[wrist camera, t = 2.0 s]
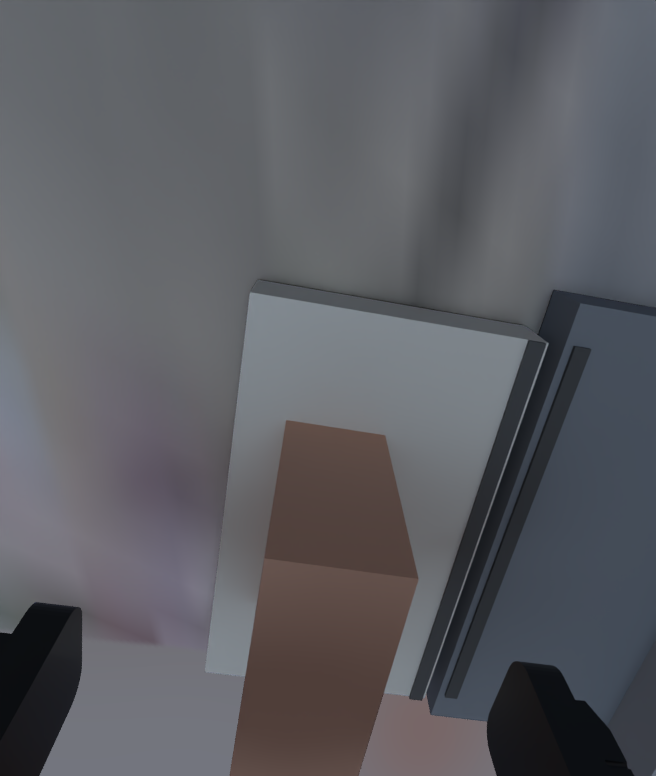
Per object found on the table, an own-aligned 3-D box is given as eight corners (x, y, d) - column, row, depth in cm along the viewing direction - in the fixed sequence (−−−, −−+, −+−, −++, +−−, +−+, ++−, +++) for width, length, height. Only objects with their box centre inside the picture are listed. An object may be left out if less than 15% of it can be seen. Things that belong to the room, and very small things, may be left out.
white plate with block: (525, 326, 14) (687, 447, 7) (416, 657, 18) (463, 900, 12) (257, 279, 13) (200, 369, 7) (214, 632, 17) (156, 873, 11)
